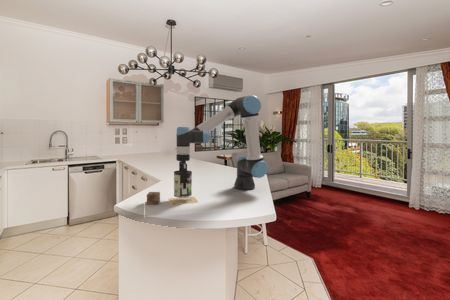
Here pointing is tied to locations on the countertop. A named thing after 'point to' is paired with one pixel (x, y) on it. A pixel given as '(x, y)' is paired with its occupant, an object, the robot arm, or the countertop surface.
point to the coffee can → (179, 185)
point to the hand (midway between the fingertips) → (182, 191)
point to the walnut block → (153, 198)
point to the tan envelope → (182, 200)
